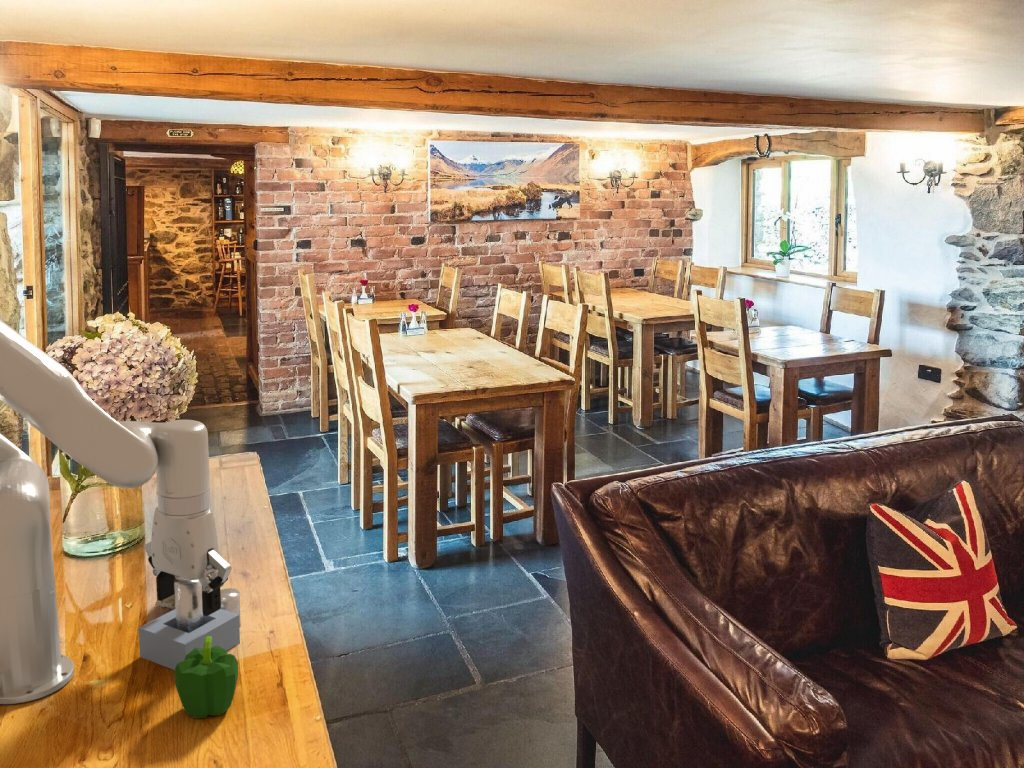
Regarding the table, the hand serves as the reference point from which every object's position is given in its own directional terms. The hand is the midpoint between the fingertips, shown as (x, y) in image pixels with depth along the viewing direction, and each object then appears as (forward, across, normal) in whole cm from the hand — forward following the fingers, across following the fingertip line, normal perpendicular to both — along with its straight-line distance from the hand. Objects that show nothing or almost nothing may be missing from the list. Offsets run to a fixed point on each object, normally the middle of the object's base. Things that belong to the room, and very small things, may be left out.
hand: (188, 604), depth 137 cm
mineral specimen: (+8, -12, +11) cm, 18 cm away
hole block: (+8, 0, 0) cm, 8 cm away
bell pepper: (+8, +14, -10) cm, 19 cm away
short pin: (+8, 0, +8) cm, 12 cm away
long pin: (+8, 0, 0) cm, 8 cm away
